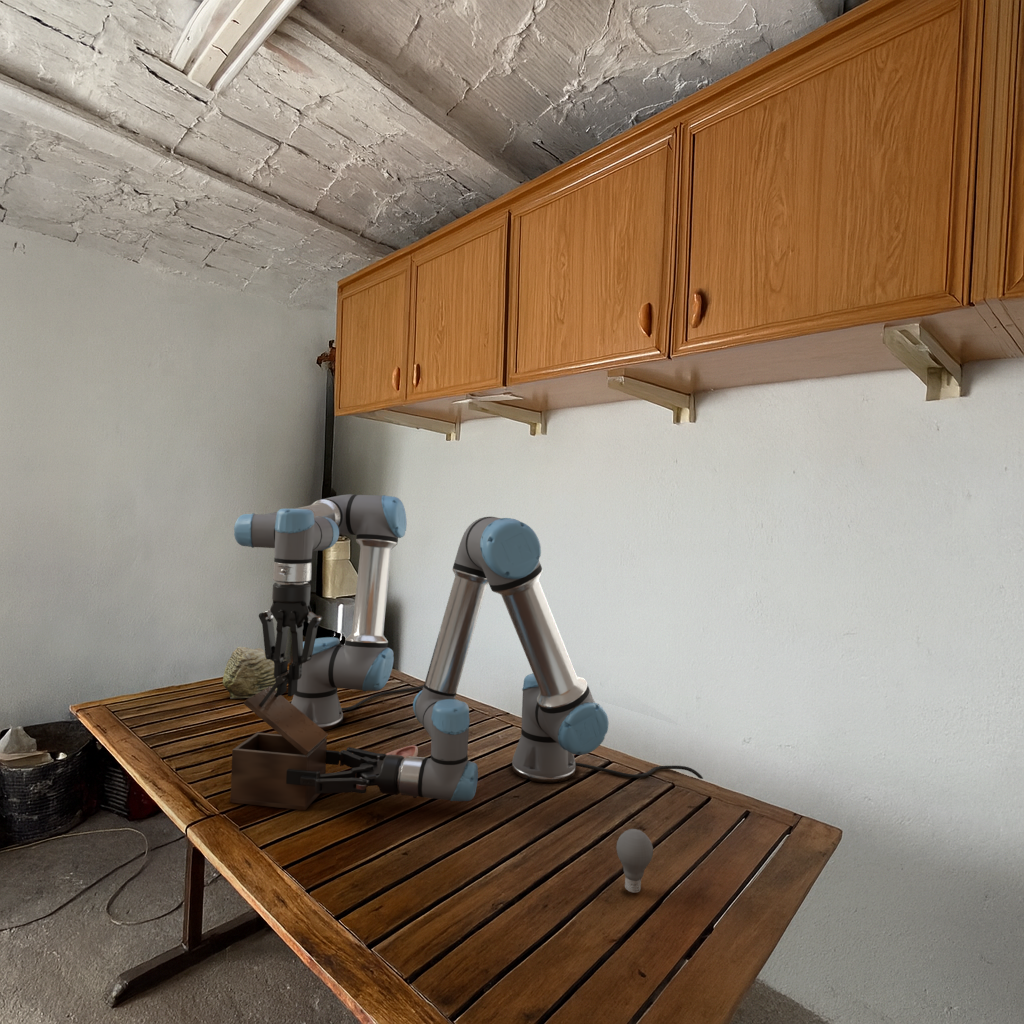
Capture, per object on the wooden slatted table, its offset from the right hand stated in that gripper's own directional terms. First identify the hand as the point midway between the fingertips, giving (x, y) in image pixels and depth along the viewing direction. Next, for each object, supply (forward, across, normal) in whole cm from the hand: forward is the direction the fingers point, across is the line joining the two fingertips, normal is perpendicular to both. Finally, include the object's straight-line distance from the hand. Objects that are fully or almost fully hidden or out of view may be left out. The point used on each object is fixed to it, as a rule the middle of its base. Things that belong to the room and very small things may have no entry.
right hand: (299, 765), depth 133 cm
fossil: (+43, +60, -7) cm, 74 cm away
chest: (+4, 0, -7) cm, 8 cm away
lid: (+3, 0, +9) cm, 10 cm away
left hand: (+3, 0, +15) cm, 15 cm away
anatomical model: (-14, +18, -7) cm, 24 cm away
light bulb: (-68, -20, -7) cm, 71 cm away
